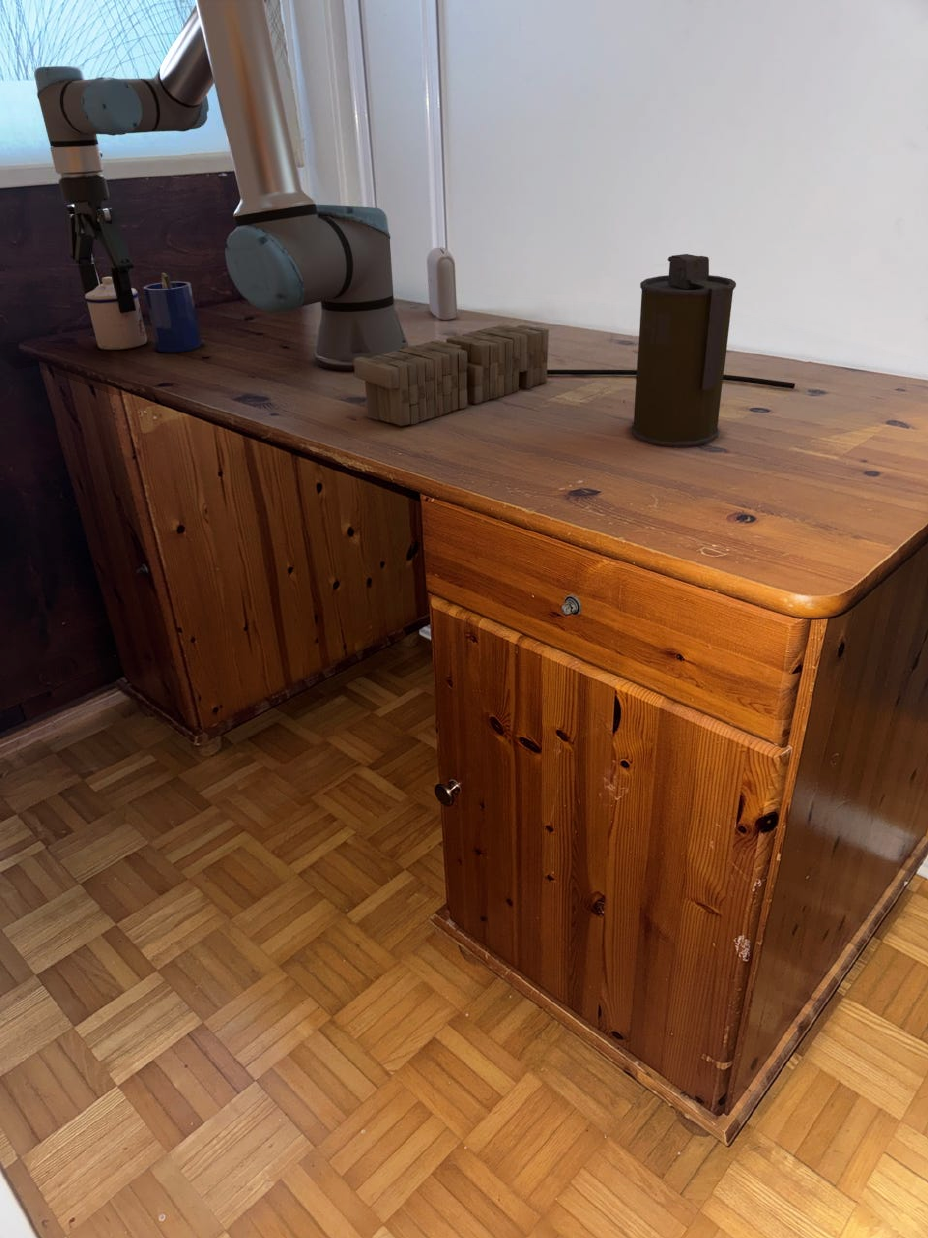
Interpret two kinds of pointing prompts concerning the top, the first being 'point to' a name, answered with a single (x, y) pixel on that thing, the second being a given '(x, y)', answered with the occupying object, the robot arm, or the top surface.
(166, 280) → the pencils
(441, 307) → the photo printer
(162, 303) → the pen pot
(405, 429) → the top surface
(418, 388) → the block tower
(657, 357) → the canister
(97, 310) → the teacup with lid
